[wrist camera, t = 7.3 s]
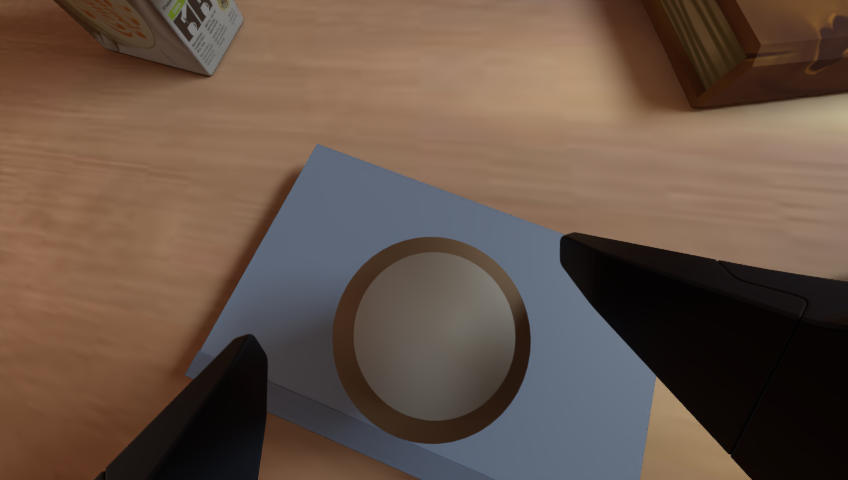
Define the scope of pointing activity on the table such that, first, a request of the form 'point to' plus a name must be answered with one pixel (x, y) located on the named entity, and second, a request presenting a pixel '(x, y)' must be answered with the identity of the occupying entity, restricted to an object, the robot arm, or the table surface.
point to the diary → (753, 47)
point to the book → (523, 262)
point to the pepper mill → (431, 340)
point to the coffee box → (161, 29)
